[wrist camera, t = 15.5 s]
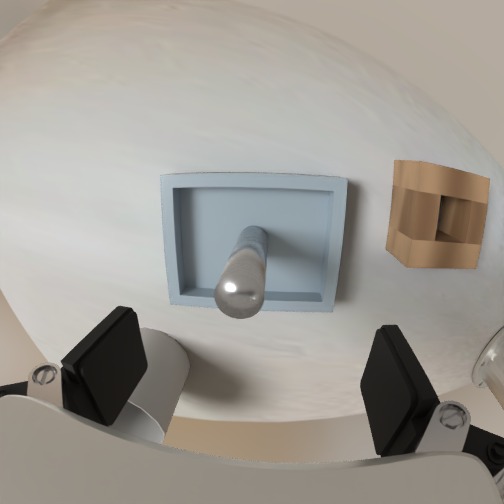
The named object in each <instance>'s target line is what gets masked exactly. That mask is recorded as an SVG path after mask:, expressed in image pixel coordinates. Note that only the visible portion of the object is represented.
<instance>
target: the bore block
mask: <svg viewBox="0 0 504 504" xmlns="http://www.w3.org/2000/svg"><path fill="white" fill-rule="evenodd" d="M489 185H490V178H486V177H483V176H480V175H476V174H472V173H469V172H465V171H461V170H457V169H453V168H449V167H445V166H441V165H436V164H432V163H427V162H422V161H406V160H394V177H393V191H392V203H391V212H390V221H389V229H388V236H387V243H386V250H387V251H389V252H390V253H391V254H392V255H393V256H394V257H396V258H397V259H398V260H399V261H400V262H401V263H402V264H404V265H405V266H406V267H407V268H458V269H476V266H477V262H478V257H479V253H480V248H481V243H482V238H483V233H484V227H485V220H486V213H487V205H488V196H489ZM441 195H443V199H442V208H441V216H440V223H439V230H437V223H438V216H439V208H440V199H441Z"/></svg>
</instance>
